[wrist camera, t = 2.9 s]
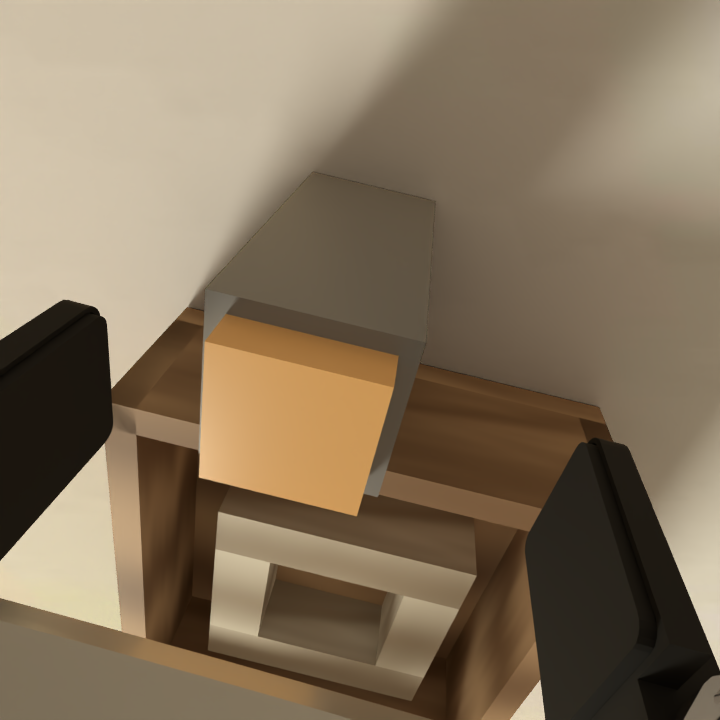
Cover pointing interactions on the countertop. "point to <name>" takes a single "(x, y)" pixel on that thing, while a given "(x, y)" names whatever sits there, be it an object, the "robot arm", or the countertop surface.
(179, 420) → the crate
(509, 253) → the countertop surface
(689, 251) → the countertop surface
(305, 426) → the plug
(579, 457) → the robot arm
